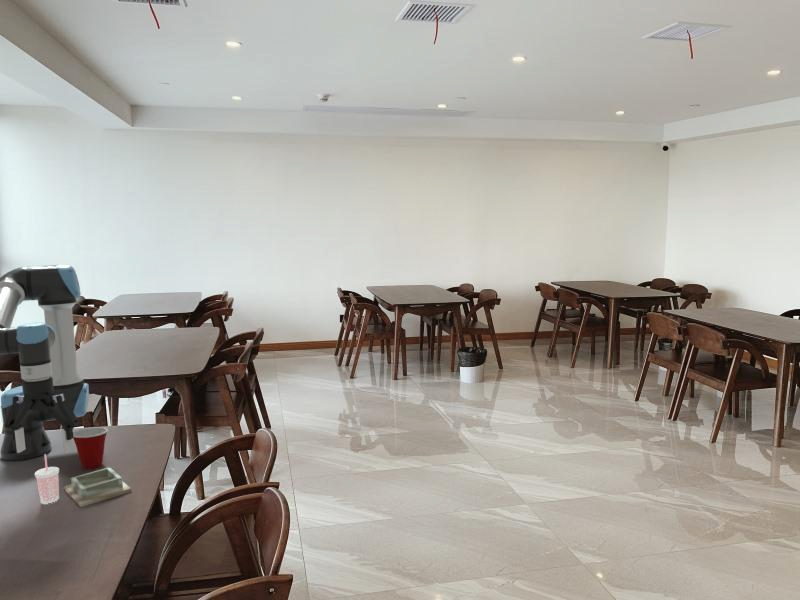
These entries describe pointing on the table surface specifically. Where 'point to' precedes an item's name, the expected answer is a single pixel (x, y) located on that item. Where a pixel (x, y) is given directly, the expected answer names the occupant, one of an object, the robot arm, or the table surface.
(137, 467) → the table surface
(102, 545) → the table surface
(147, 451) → the table surface
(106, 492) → the cup stand
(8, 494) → the table surface
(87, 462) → the plastic cup
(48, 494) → the beverage cup
